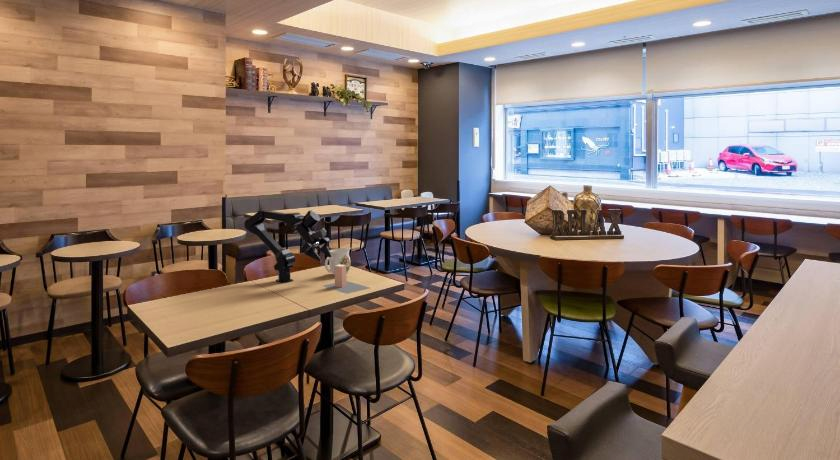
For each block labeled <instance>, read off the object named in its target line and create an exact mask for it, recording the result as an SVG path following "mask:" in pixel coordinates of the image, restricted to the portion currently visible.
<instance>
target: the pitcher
mask: <svg viewBox="0 0 840 460" xmlns="http://www.w3.org/2000/svg"><path fill="white" fill-rule="evenodd" d="M351 249H352V247H350V246H347V247H341V248H334V249H329V251H330V253H331V257H330V258H329V257H328V256H327V257H326V258H325V260H324V267H325V270H326V272H328V273H329V274H332V275H333V276H334V277H335V270H334V266H336V265H339V264H340V265H346V276H347V275H348V274H349V272H350V268H351V257H350V250H351ZM328 263H329V266H328ZM328 267H329V268H328Z"/></svg>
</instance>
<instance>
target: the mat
mask: <svg viewBox="0 0 840 460" xmlns="http://www.w3.org/2000/svg"><path fill="white" fill-rule="evenodd" d="M346 281H347V286H344V287H335V282H334V283H329V284H323V285H322V287H324V288H327V289H330V290H332V291H333V290H334V291H337V292H340V293H344V294H346V295H347V294H351V293H355V292H360V291H363V290H369V289H370V286H365V285H362V284H358V283H355V282H352V281H348V280H346Z"/></svg>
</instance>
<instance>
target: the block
mask: <svg viewBox="0 0 840 460" xmlns="http://www.w3.org/2000/svg"><path fill="white" fill-rule="evenodd" d="M334 270H335V276H334V283H335V287H344V286H347V281H348V280H347V275H346V265H340V264H339V265H336V266H334Z"/></svg>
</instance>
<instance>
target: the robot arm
mask: <svg viewBox="0 0 840 460" xmlns="http://www.w3.org/2000/svg"><path fill="white" fill-rule="evenodd" d="M266 219H267V220H272V221H273V220H274V221H279V222H283V223H284V224H285V225H288V226H292V232H291V233H292V234H295V233H297V234H298V236H300V238H301V240H300V241H301V242H304V244H303V245H301V247H300V248H299V253H301V255H303V254H304V256H307V257H310V258H312V259H314V260H316V261H317V262H320V261H322V259H321V257H320V255H319V254H318V252H317V251H316V248H317V249H319V251H320V252H321V253H323V254H324V255H325V256H327V257H329V258H330V257H331V253H330V249H329V248H330V247H329V244H330V242H331V239H330V238H329V237H327V235H328V234H327V233H328V231H327V230H326V229H325V228H324V227H323V228H321V229H319V230H318V231H312V230H311V229H313V228H314V227H315V226H316V225H317V224H318V223H319V222H320V221H321V216H320V215H319V214H317V213H316V212H314V211H313V210H308V211H307V213H306V214H305V215H303V214H301V213H300V212H279V211H276V210H275V211H274V210H268V209H260V210H258V211H257V212H256V213H255V214H253V215H252V216H250V217H249V218H247V219H245V221H244V224H243V226H244V228H245V229H246V230H247V231H248V232H249V233H250V234H253V235H255V236H257V237H258V239H259V240H260V241H262V243H263V244H264V245H265V246H266V248H268V249H269V250H270V252H272V254H274V256H275V261H276V263H275V264H274V266H273V269H274V270H275V271H277V276H278V277H277V278H278V279H275V281H276V282H279V283H284V284H285V283H289V282H292V281H294V279H292V278H291V269H292V268H293V267H294V264H295V262H296V257H295V253H293V252H292V251H291V250H290V249H289V248H287V249H284V248H283V247H282V246H281V245H280V244H279V243H278V242H277V241H276V240H275V239H274V238H273V237H272V236H271V234H270V233H268V231H267V230H266V229H265V225H264V222H265V221H266Z"/></svg>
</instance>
